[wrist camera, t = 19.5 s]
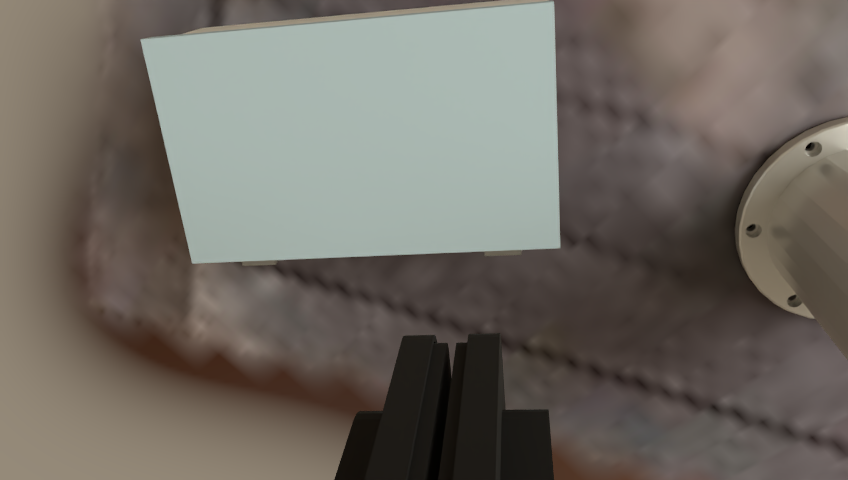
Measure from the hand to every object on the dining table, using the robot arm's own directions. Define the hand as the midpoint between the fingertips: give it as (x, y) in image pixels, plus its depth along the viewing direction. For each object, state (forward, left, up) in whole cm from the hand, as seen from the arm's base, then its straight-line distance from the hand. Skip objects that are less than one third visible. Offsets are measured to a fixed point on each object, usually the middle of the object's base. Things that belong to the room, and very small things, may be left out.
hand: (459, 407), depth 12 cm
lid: (+7, +2, -25) cm, 26 cm away
